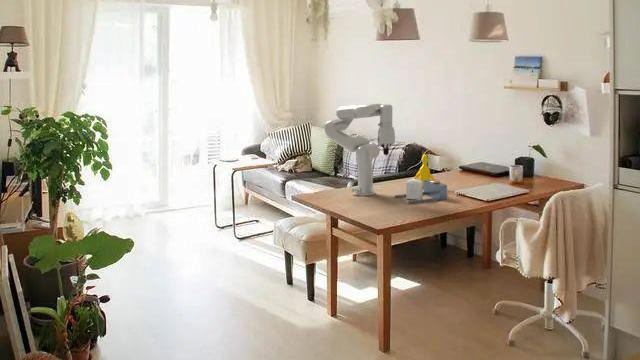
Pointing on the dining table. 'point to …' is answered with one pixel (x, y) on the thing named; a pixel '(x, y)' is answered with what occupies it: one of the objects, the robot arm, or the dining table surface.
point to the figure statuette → (424, 171)
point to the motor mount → (431, 192)
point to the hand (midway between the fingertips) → (386, 154)
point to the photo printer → (414, 189)
